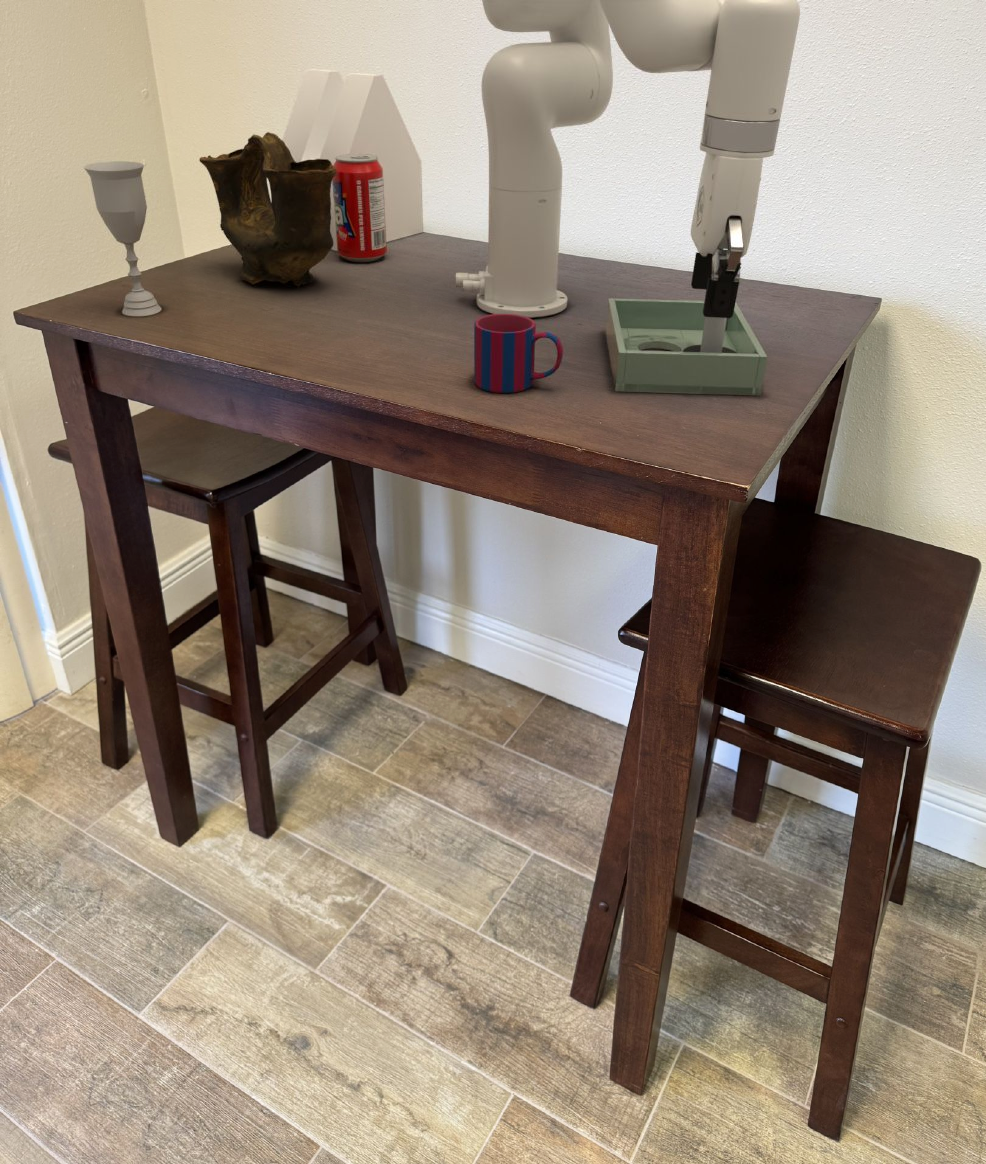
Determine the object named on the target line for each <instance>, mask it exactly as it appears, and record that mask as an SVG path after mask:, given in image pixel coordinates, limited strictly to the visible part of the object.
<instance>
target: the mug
mask: <svg viewBox="0 0 986 1164" xmlns="http://www.w3.org/2000/svg"><path fill="white" fill-rule="evenodd" d="M473 325H474V327H473V328H474V329H473V331H474V332H473V348H474V349H473V358H474V359H473V383H474V384H475V386H476V387H478V388H479V389H481V390H483V391H486V392H490V393H496V394H498V393H499V394H514V393H519V392H523V391H527V390H529V389H530V388H532V387H533V384H534V381H535V380H540V379H545V378H548V377H549V376H551V375H553V374H555V372H557V370H559V368H560V366H561V364H562V360H563V356H564V349H563V343H562V341H561V339H560V338H559V336H558V335H556V334H554V333H552V332H547V331H546V332H545V331H544V332H537V333H536V331H537V330H536V328H537V327H536V326H537V324H536V322H535V320H534V319H532V318H528V317H525V316H521V315H515V314H492V313H491V314H485V315H483V316H481V317H478V318H477V319H475V321H474V323H473ZM544 338H546V339H550V340H551V341H552V342H553V343H554V345H555V347H556V361H555V364H554V366H552V368H551V369H549V370H547V371H543V372H536V371H535V360H536V359H535V358H536V355H535V354H536V342H537V341H538V340H540V339H544Z"/></svg>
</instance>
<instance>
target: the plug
mask: <svg viewBox="0 0 986 1164" xmlns="http://www.w3.org/2000/svg"><path fill="white" fill-rule="evenodd" d="M726 320H727V318H716V317H705V321H704V328H703V336H702V343H701V345H693V346H689V347H687V348H685V349H684V350H683V352H705V353H737V352H735V351H734V350H732V349H729V348H726V347H722V346H723V340H724V333H725V327H726Z"/></svg>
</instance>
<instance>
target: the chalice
mask: <svg viewBox="0 0 986 1164" xmlns="http://www.w3.org/2000/svg"><path fill="white" fill-rule="evenodd" d="M144 167H145V165H144V163H141V162H137V161H126V160H123V161H121V160H113V161H112V160H111V161H99V162H93V163H89V164H85V165H84V166H83V169H84V171H86V173H87V174H88V176H89V177H90V182H91V187H92V192H93V197H94V201H95V206H96V210H97V212H98V213H99V215H100V217H101V219H102V221H103V223H104V224H105V226H106V228H107V229H108V231H109V232H110V233H111V235H112V236H113V238H114V240H115V241H116V242H118V243H120V244H123V245H124V247H125V249H126V258H125V259H124V260H125V261H126V263H127V264H128V266H129V271H128V273H127V276H129V278H130V279H131V282H132V288H131V290H130V291H129V292H127V294H126V295H125V297H124V302H123V308H122V310H121V313H122V314H123V315H124V316H128V317H145V316H146V317H147V316H153V315H156V314H158V313H160V312H162V307H161V305H159V303H158V301H157V299H156V298H155V296H154V294H153V293H152V292H150V291H149V290H145V288H144V287H142V283H141V276H142V275H143V272H142V271H140V270H139V268H138V261H139V257H137V255H136V252H135V249H134V248H135V243H137V242H139V241H140V240H141V237H142V233H143V229H144V226H145V222H146V216H147V209H148V205H147V200H146V195H145V194H146V193H145V189H144V182H143V177H142V175H143V170H144Z"/></svg>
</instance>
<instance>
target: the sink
mask: <svg viewBox="0 0 986 1164" xmlns="http://www.w3.org/2000/svg"><path fill="white" fill-rule="evenodd" d="M704 301H705V300H686V299H685V300H680V299H650V298H649V299H648V298H647V299H646V298H645V299H642V298H612V297H611V298H607V308H606V322H605V339H606V344H607V350H608V356H609V361H610V367H611V373H612V379H613V385H614V390H616V389H617V388H618V387H617V388H616V384H619V386H620V384H623V383H624V384H627V385H628V384H632V385H633V384H634V386H635V387H636V385H637V384H638V386H639V388H638V389H639V390H638V392H637V393H640V392H639V391H641V389H640V388H643V389H642V390H643V392H642V393H655V387H653V386H656V385H657V386H656V390H657V391H656V392H660V390H658V388H659V389H660V388H662V387H663V388H664V392H667V391H668V390H669V391H668V392H676V393H675V394H689V393H688V392H689V390H688V392H687V390H685V391H686V392H684V388H685V389H687V388H689V387H690V388H691V389H693V390H694V389H695V387H697V389H698V391H697V389H696V390H694V391H693V390H690V393H691V392H692V393H698V392H700V394H699V395H702V394H701V392H703V391H704V392H703V393H705V392H707V391H708V392H709V390H707V391H706V389H704V390H702V386H703V387H704V388H706V387H705V386H708V387H707V388H708V389H709V388H710V387H711V388H713V389H714V387H715V388H716V389H717V390H718V389H719V388H717V387H720V389H722V390H723V388H724V389H725V387H726V390H728V389H729V390H728V392H729V391H730V390H731V391H732V389H733V388H734V387H736V388H735V389H734V390H733V392H732V394H738V393H737V392H739V391H740V390H738V389H740V388H742V394H743V393H744V392H743V388H746V389H749V390H751V389H750V388H754V387H755V388H756V389H755V392H754V393H756V392H757V390H758V392H757V393H759V391H760V395H757V393H756V395H755V396H759V397H760V396H761V394H762V389H763V383H764V377H765V372H766V367H767V360H768V355H767V354H766V352H765V350H764V349H763V347H762V345H761V343H760V342H759V340H758V338H757V337H756V334H755V333H754V331H753V329H752V328H751V326H750V324H749V323H748V321H747V319H746V317H745V316H744V314H743V312H742V311H741V309H740V307H739V304H737V302H735V308H734V313H733V316H732V317H731V318H727V320H726V327H725V331H726V332H727V334H728V336H729V338H730V340H731V342H732V343H733V345H734V347H735V349H736V351H737V353H705V352H674V351H671V350H666V351H665V350H663V351H662V350H641V351H635V350H626V349H625V345H624V340H623V336H622V331H621V328H642V329H678V330H703V328H704V321H705V316H704V315H703V307H704ZM606 330H607V331H606ZM613 369H614V370H613ZM614 378H615V379H614ZM646 384H647V386H646ZM648 384H649V388H648ZM650 384H651V386H652V387H653V388H654V392H653V391H652V392H651V391H650V388H651V386H650ZM632 385H630V387H631V388H633V387H632ZM642 385H643V386H642ZM666 385H667V386H669V387H670V388H669V387H667V386H666ZM670 385H671V386H670ZM680 385H681V386H682V387H681V391H680V389H679V393H678V388H680ZM684 385H685V386H686V387H684ZM617 386H618V385H617ZM621 386H622V385H621ZM621 386H620V388H622V387H621ZM628 386H629V385H628ZM628 386H626V389H627V388H629V387H628ZM641 386H642V387H641ZM659 386H660V387H659ZM661 386H662V387H661ZM672 386H673V387H672ZM675 386H676V389H677V390H676V389H675ZM678 386H679V387H678ZM688 386H689V387H688ZM698 386H699V387H698ZM635 387H634V391H636V390H635ZM666 387H667V388H668V389H667V391H666V389H665V388H666ZM677 387H678V388H677ZM693 387H694V388H693ZM700 387H701V388H700ZM730 387H733V388H730ZM737 387H738V388H737ZM739 387H740V388H739ZM624 388H625V386H624ZM631 388H630V389H631ZM645 388H647V390H645ZM672 388H674V391H670V390H672ZM699 388H700V389H699ZM760 388H761V390H760ZM618 389H619V388H618ZM618 389H617V390H618ZM630 389H629V390H630ZM636 389H637V387H636ZM682 389H683V391H682ZM736 389H737V390H738V391H737V390H736ZM617 390H616V391H615V392H621V391H620V390H618V391H617ZM652 390H653V389H652ZM717 390H716V391H715V393H714V391H712V390H711V391H710V392H711V393H710V392H709V393H710V394H709V395H727V394H726V393H727V391H725V390H724V391H722V390H720V394H719V393H718V391H719V390H718V391H717ZM749 390H747V391H749ZM624 391H625V390H624ZM624 391H623V392H624ZM626 391H628V389H627V390H626ZM731 391H730V392H729V394H730V393H731ZM736 391H737V392H736ZM747 391H746V392H747ZM661 392H663V389H661ZM680 392H681V393H680ZM682 392H684V393H682ZM712 392H713V394H712ZM722 392H725V393H723V394H722ZM750 392H752V391H749V393H750ZM749 393H747V394H744V395H743V396H753V395H752V394H751V395H750V394H749ZM748 394H749V395H748Z"/></svg>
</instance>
